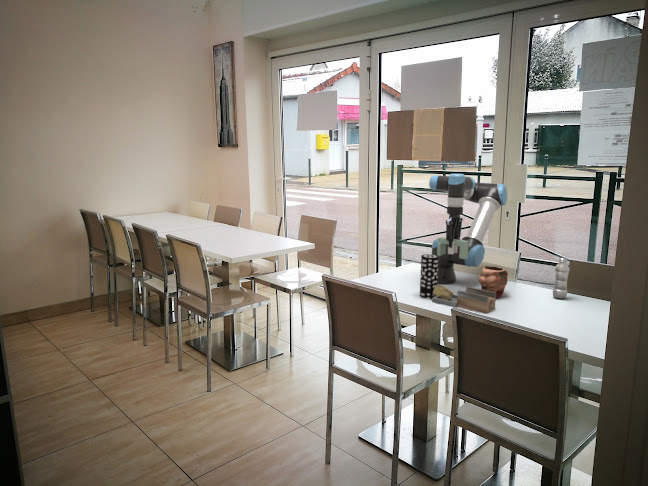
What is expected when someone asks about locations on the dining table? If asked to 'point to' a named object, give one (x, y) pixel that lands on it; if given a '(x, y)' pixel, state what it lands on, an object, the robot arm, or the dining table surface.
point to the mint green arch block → (462, 243)
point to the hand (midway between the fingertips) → (452, 253)
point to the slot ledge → (476, 300)
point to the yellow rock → (438, 290)
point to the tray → (449, 303)
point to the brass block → (446, 294)
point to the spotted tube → (428, 275)
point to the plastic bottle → (561, 278)
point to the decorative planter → (493, 280)
